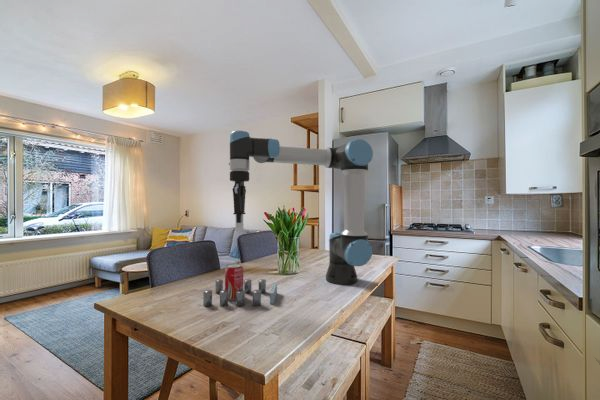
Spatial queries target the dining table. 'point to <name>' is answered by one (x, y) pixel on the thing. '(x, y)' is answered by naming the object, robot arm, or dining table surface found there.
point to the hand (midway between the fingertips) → (239, 230)
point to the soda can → (233, 280)
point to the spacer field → (239, 294)
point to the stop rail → (273, 293)
